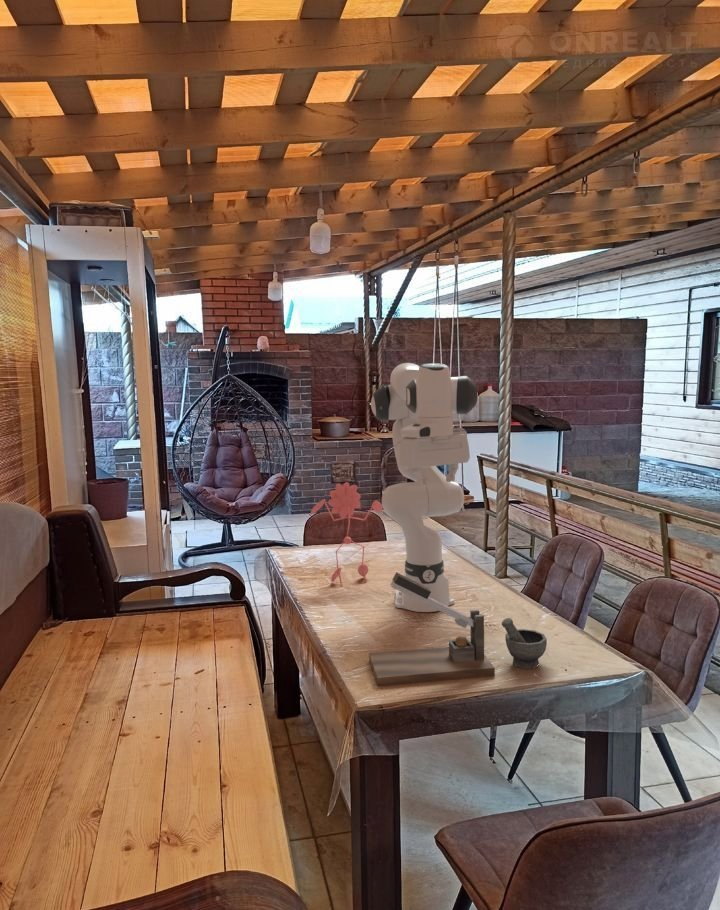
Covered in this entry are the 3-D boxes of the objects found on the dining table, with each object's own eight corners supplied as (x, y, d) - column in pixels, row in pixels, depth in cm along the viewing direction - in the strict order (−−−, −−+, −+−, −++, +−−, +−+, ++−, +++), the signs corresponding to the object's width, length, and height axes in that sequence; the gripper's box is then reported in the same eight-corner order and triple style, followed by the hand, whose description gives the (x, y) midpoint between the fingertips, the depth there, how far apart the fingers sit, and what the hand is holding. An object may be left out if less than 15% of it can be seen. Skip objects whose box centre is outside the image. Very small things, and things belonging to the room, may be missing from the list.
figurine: (389, 579, 231) (385, 481, 227) (319, 590, 221) (315, 488, 218) (372, 569, 245) (368, 477, 242) (306, 579, 235) (301, 483, 232)
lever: (387, 587, 158) (396, 572, 157) (471, 629, 162) (480, 613, 161) (390, 591, 155) (398, 575, 154) (475, 633, 159) (483, 618, 158)
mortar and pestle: (534, 653, 166) (534, 607, 165) (553, 668, 157) (554, 620, 156) (493, 659, 164) (493, 612, 162) (511, 675, 155) (511, 626, 153)
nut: (453, 645, 161) (453, 634, 161) (465, 644, 162) (465, 633, 161) (457, 650, 158) (457, 638, 158) (469, 649, 159) (469, 637, 158)
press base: (369, 660, 165) (367, 610, 163) (476, 651, 168) (476, 603, 167) (377, 686, 151) (376, 632, 149) (494, 675, 154) (494, 622, 153)
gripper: (458, 426, 171) (458, 478, 173) (395, 430, 160) (396, 486, 162) (474, 426, 166) (475, 480, 167) (410, 431, 155) (412, 489, 156)
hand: (436, 483), depth 164 cm, fingers open, 8 cm apart
